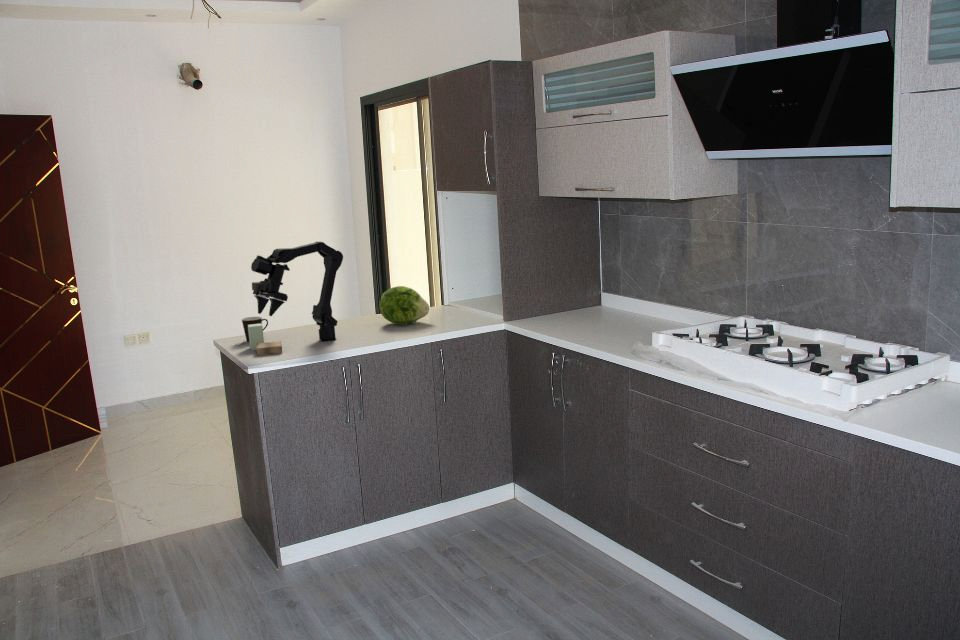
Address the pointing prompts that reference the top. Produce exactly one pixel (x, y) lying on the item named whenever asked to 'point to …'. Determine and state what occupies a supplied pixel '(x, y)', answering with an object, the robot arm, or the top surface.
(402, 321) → the lettuce
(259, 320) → the coffee mug
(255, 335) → the tea tin
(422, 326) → the top surface
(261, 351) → the walnut block
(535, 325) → the top surface
